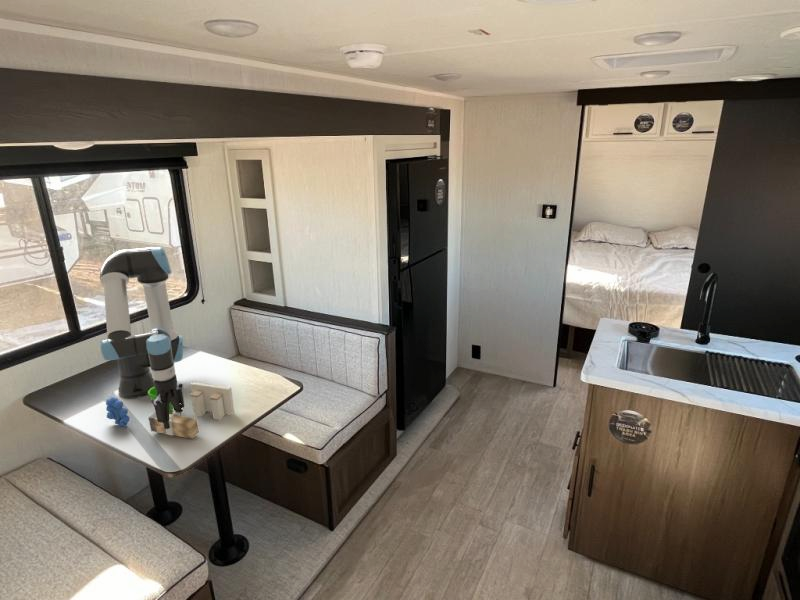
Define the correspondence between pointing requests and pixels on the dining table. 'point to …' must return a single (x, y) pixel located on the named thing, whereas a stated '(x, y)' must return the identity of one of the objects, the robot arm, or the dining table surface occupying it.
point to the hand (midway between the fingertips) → (174, 430)
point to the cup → (153, 395)
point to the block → (176, 425)
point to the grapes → (117, 411)
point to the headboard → (211, 400)
